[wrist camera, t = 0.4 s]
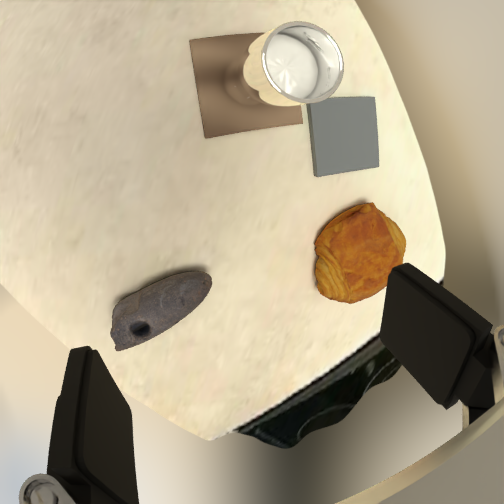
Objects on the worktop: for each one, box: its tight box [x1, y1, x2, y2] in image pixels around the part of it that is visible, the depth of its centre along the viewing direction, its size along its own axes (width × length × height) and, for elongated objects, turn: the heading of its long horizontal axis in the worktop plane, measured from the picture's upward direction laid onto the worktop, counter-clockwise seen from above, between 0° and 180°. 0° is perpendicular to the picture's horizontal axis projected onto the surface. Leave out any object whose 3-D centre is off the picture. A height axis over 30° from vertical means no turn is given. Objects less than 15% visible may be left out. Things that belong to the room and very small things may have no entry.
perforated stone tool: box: [110, 271, 212, 351], centre depth 38 cm, size 15×5×7 cm, turn 111°
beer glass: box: [223, 21, 344, 107], centre depth 26 cm, size 7×7×15 cm
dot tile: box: [190, 33, 303, 138], centre depth 33 cm, size 12×12×1 cm
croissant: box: [314, 202, 406, 304], centre depth 44 cm, size 14×16×8 cm
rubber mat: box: [307, 97, 379, 177], centre depth 38 cm, size 10×10×1 cm
